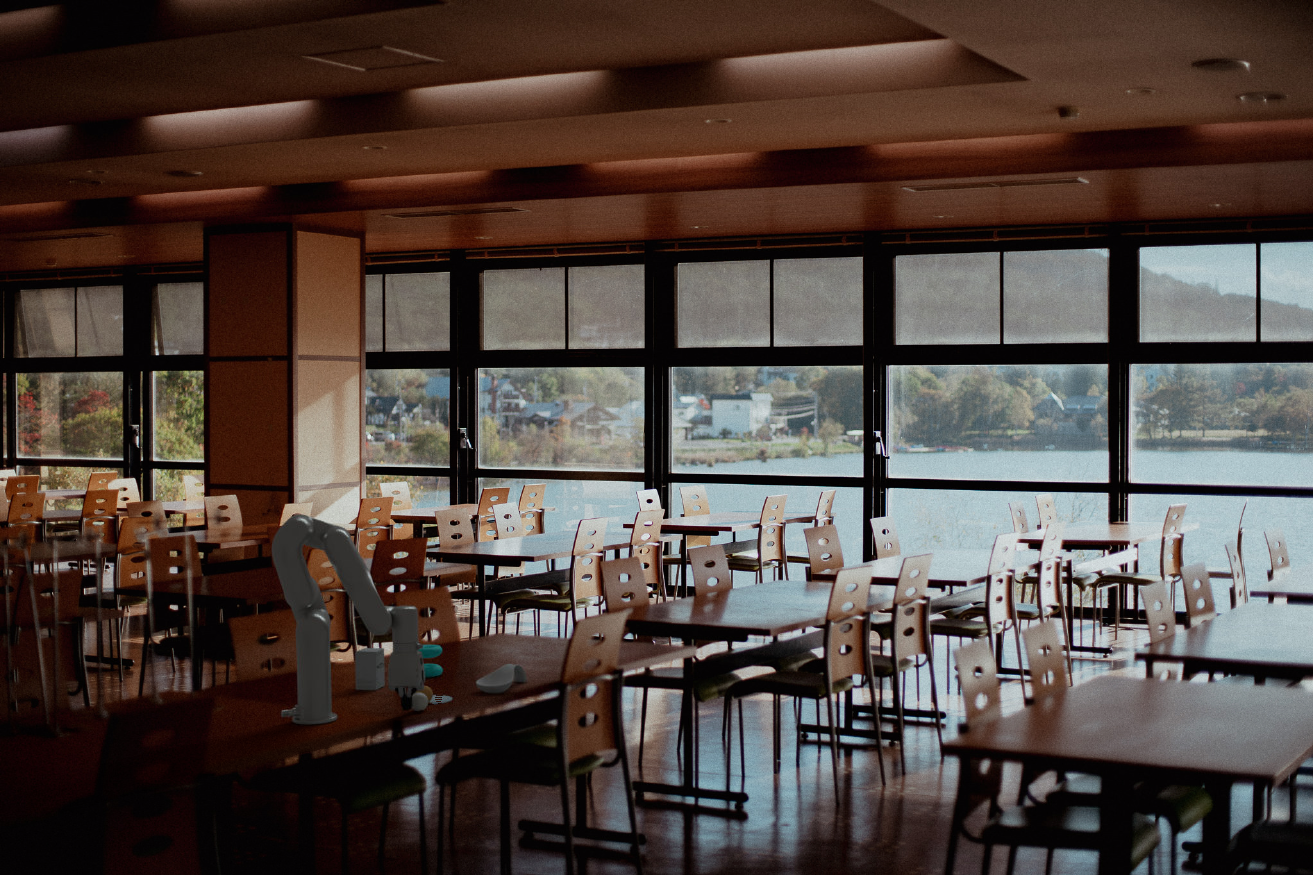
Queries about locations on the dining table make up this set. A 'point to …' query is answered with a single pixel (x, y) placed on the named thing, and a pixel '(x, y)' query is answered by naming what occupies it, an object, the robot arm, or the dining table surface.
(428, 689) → the orange ball
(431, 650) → the donuts
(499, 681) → the spoon rest
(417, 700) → the cue ball
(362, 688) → the supplement box
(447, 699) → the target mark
